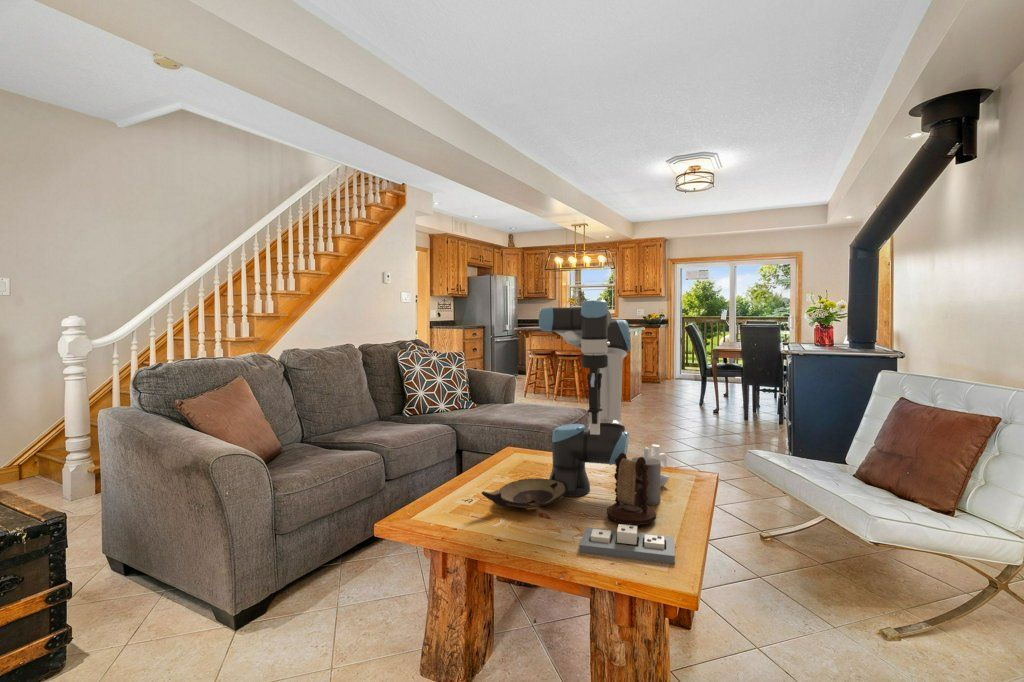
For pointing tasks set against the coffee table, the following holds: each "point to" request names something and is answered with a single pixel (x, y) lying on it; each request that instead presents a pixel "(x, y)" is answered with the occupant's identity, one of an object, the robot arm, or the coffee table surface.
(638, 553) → the button board
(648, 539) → the white die
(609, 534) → the white die
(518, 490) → the oil lamp
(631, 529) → the white die
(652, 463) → the pillar candle
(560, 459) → the robot arm
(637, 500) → the scroll
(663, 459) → the figurine
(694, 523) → the coffee table surface
